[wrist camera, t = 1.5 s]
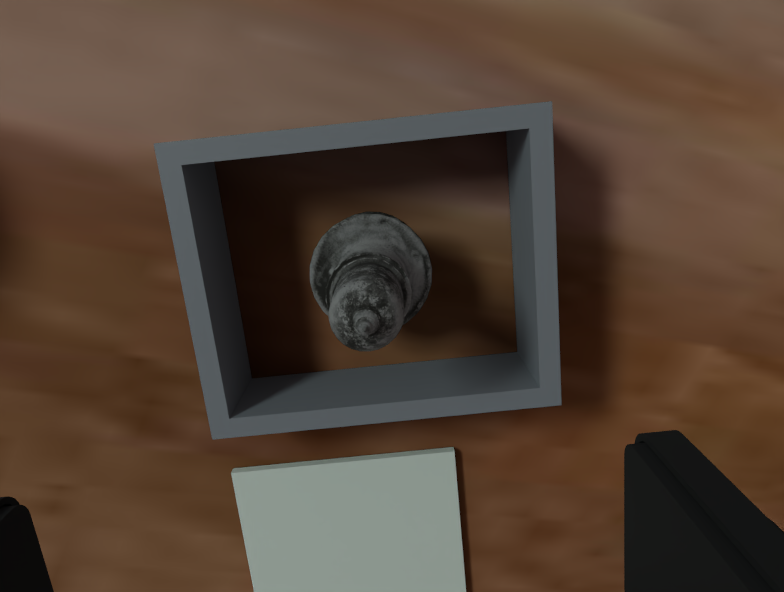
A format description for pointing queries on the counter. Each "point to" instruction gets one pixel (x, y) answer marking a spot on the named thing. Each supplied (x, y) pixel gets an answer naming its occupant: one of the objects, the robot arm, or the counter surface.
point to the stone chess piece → (370, 278)
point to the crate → (377, 383)
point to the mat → (353, 524)
